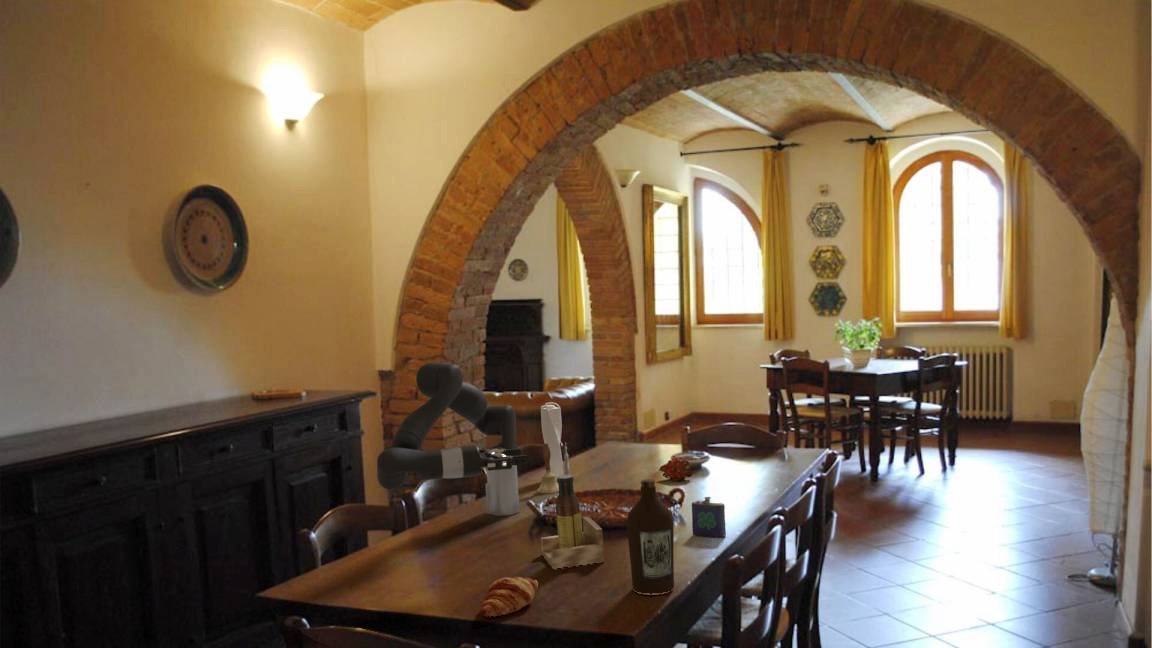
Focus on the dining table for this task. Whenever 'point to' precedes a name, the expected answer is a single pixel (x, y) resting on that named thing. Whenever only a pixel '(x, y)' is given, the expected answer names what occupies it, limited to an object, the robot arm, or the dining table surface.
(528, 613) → the dining table surface
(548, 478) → the hand bell
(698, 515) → the flask
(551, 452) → the skyscraper
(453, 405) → the robot arm
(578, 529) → the sauce bottle
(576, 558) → the light wooden holder
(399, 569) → the dining table surface
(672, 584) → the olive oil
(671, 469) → the dragon fruit
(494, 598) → the croissant
